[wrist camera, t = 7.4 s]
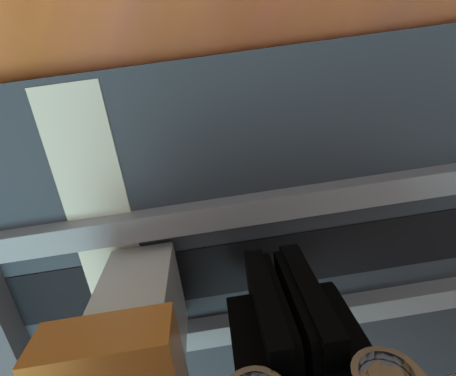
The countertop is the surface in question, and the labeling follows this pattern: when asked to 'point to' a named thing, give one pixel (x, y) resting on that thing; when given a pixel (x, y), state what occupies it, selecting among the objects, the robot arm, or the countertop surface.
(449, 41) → the board
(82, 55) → the countertop surface
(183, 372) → the fader knob
